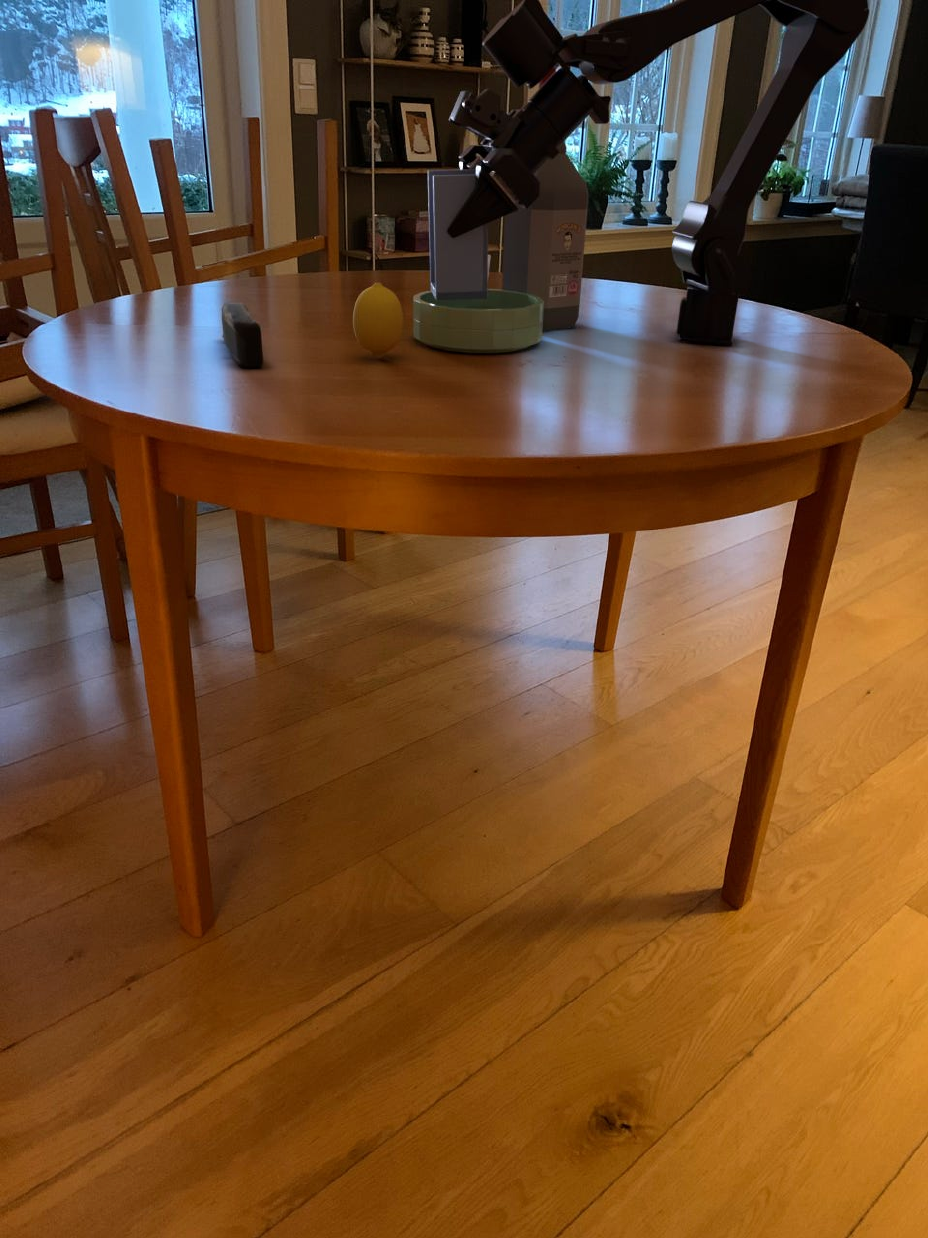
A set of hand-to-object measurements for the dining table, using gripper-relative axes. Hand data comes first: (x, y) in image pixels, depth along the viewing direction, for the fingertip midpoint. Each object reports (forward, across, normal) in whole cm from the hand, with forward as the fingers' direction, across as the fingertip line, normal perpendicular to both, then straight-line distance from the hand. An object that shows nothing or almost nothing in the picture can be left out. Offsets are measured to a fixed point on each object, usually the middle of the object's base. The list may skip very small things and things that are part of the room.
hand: (444, 231), depth 102 cm
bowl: (+6, -1, +12) cm, 13 cm away
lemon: (+15, +8, +3) cm, 17 cm away
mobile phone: (+26, +5, -8) cm, 27 cm away
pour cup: (+4, 0, +6) cm, 7 cm away
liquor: (-2, -11, +20) cm, 23 cm away
